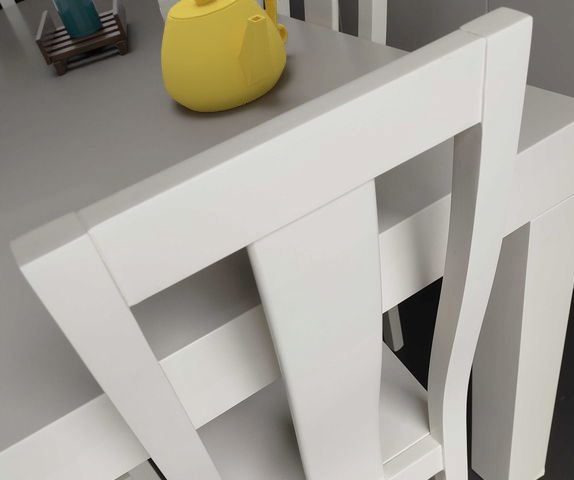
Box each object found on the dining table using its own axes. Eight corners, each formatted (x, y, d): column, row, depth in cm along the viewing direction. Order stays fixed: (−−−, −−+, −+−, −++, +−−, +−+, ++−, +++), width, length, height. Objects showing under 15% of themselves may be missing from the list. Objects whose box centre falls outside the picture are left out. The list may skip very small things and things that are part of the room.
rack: (53, 77, 100) (35, 40, 95) (59, 45, 111) (43, 11, 107) (132, 51, 99) (117, 13, 95) (130, 22, 111) (116, -13, 107)
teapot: (152, 100, 83) (113, 2, 74) (258, 44, 88) (234, -54, 79) (227, 137, 70) (190, 23, 61) (345, 69, 75) (328, -44, 66)
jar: (172, 42, 98) (143, -40, 89) (218, 27, 98) (194, -57, 89) (176, 60, 92) (146, -26, 83) (226, 44, 92) (201, -45, 83)
